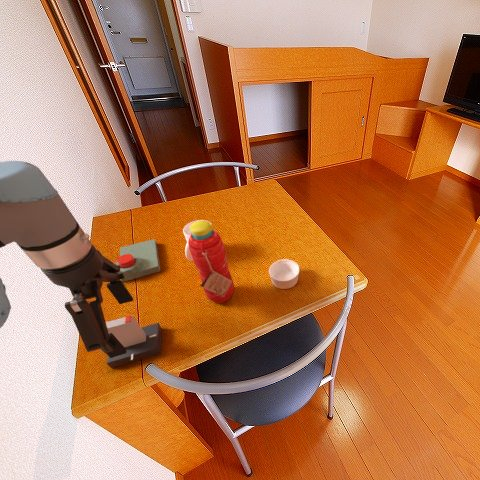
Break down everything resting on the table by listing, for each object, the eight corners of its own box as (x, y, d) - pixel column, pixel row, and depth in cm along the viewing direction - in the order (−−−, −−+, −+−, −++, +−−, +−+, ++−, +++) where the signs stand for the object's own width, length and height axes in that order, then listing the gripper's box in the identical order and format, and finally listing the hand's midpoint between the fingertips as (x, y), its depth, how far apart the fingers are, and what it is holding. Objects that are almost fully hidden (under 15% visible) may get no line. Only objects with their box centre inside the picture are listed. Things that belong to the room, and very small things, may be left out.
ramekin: (271, 268, 86) (270, 258, 83) (300, 268, 86) (299, 258, 83) (268, 291, 79) (267, 281, 76) (299, 291, 80) (299, 281, 77)
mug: (203, 272, 84) (194, 247, 77) (179, 266, 85) (168, 241, 78) (223, 246, 93) (216, 222, 86) (201, 242, 94) (193, 217, 87)
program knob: (121, 348, 62) (103, 328, 57) (122, 341, 63) (105, 321, 58) (145, 341, 64) (131, 321, 58) (146, 334, 65) (132, 314, 59)
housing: (160, 271, 83) (156, 262, 81) (119, 283, 79) (113, 274, 77) (157, 243, 93) (152, 234, 90) (120, 253, 89) (114, 244, 86)
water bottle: (239, 313, 73) (220, 242, 57) (207, 320, 71) (178, 249, 55) (235, 280, 82) (218, 210, 66) (207, 286, 80) (182, 215, 64)
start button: (135, 265, 80) (132, 260, 79) (119, 270, 78) (116, 265, 77) (135, 257, 83) (132, 252, 81) (120, 261, 81) (116, 256, 80)
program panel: (110, 373, 60) (105, 367, 59) (116, 337, 67) (111, 331, 65) (161, 357, 63) (157, 351, 62) (162, 324, 70) (158, 318, 68)
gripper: (75, 307, 38) (137, 374, 52) (105, 210, 55) (146, 279, 69) (6, 324, 36) (90, 389, 50) (60, 217, 53) (111, 287, 67)
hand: (123, 325), depth 59 cm, fingers open, 13 cm apart
